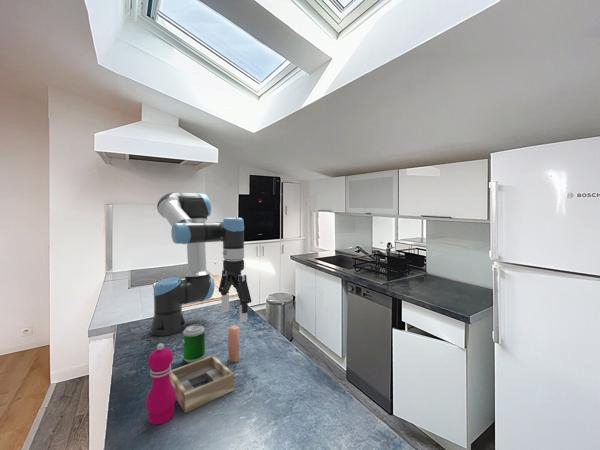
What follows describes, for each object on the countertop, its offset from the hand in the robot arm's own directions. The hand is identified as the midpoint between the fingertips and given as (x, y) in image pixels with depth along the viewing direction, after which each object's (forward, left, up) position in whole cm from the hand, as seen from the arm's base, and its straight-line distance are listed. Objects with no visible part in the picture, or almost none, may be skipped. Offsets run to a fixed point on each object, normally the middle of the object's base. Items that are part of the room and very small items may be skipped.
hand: (234, 316), depth 102 cm
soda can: (-10, -11, -17) cm, 22 cm away
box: (+8, -16, -17) cm, 24 cm away
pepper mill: (+13, -29, -17) cm, 36 cm away
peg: (0, 0, -17) cm, 17 cm away
